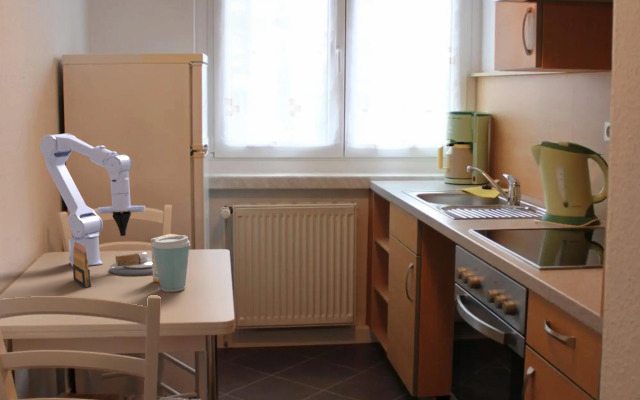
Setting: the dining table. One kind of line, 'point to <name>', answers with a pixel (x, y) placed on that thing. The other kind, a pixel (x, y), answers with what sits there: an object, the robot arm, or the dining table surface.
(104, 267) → the dining table surface
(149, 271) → the dial base
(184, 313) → the dining table surface
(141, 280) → the dining table surface
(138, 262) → the dial
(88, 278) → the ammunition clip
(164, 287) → the disposable coffee cup
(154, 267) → the supplement box
